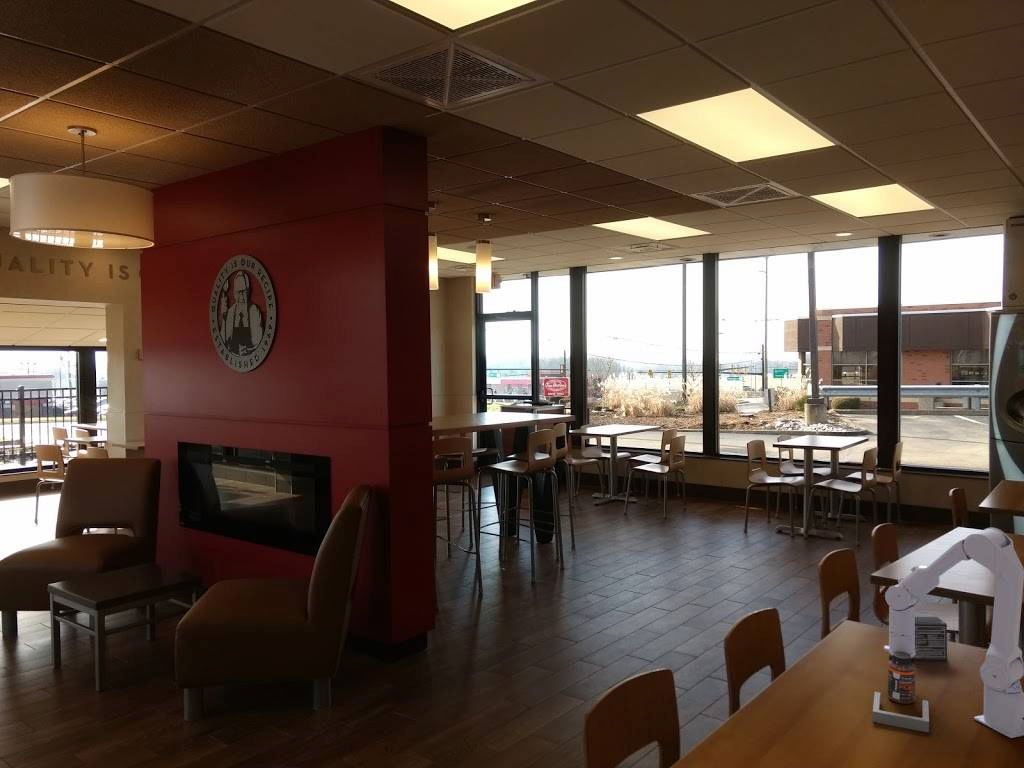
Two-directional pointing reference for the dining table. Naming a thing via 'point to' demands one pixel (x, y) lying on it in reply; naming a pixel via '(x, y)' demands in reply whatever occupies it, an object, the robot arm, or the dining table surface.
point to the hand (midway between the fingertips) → (901, 685)
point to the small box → (930, 639)
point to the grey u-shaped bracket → (901, 717)
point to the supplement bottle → (901, 678)
